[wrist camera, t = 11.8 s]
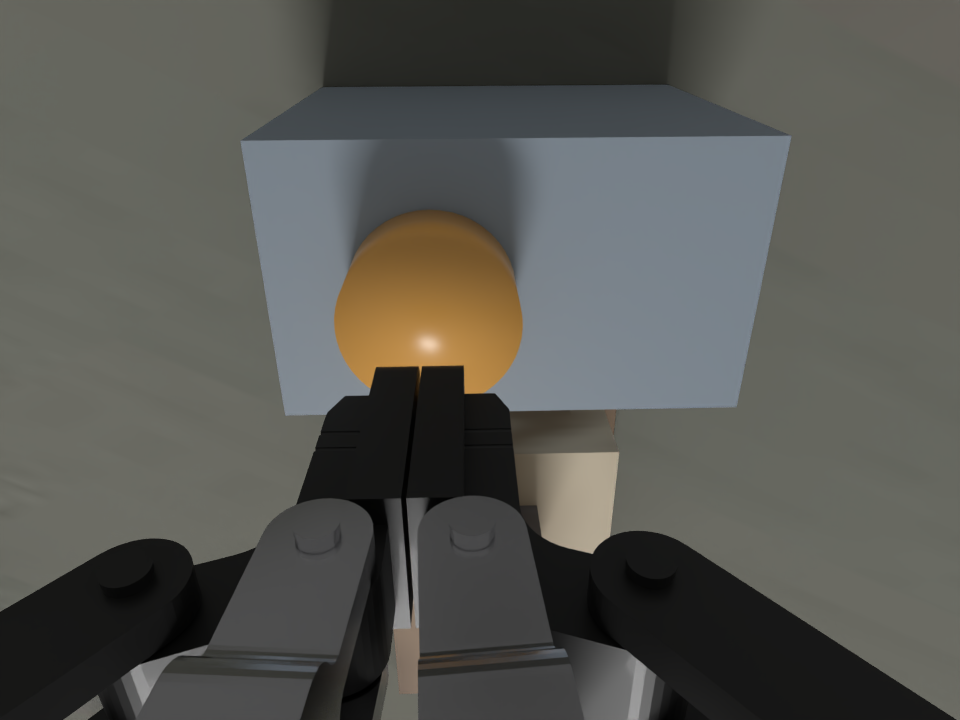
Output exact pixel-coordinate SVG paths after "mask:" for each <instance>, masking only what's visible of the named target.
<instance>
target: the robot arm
mask: <svg viewBox="0 0 960 720" xmlns="http://www.w3.org/2000/svg"><path fill="white" fill-rule="evenodd" d="M315 448H316V451H315V452H314V453H313V456H312V459H311V462H310V465H309V468H308V471H307V474H306V477H305V480H304V483H303V486H302V489H301V492H300V495H299V498H298V501H297V504H296V505H295V506H292V507H290V508H288V509H286V510H285V511H283V512H282V513H280V514H279V515H278V516H276V517H275V518H274V519H273V520H272V521H271V522H270V523H269V525H268V526H267V527H266V529H265V531H264V532H263V534H262V536H261V538H260V540H259V542H258V545H257V547H256V548H253V549H251V550H249V551H246V552H243V553H240V554H237V555H233V556H229V557H225V558H221V559H217V560H213V561H210V562H206V563H202V564H198V565H193V561H192V557H191V555H190V553H189V551H188V550H187V549H186V548H185V547H184V546H182V545H180V544H179V543H177V542H174V541H171V540H166V539H142V540H136V541H132V542H128V543H125V544H121V545H119V546H116V547H114V548H111V549H109V550H107V551H105V552H103V553H101V554H99V555H98V556H96V557H94V558H92V559H91V560H89V561H87V562H85V563H84V564H82V565H80V566H79V567H77V568H75V569H73V570H72V571H70V572H68V573H66V574H65V575H63V576H61V577H60V578H58V579H56V580H54V581H53V582H51V583H49V584H47V585H46V586H44V587H42V588H41V589H39V590H37V591H35V592H34V593H32V594H30V595H29V596H27V597H25V598H23V599H22V600H20V601H18V602H16V603H15V604H13V605H11V606H10V607H8V608H6V609H4V610H3V611H1V612H0V720H63V719H65V718H66V717H67V716H69V715H70V714H72V713H73V712H74V711H76V710H77V709H79V708H80V707H81V706H83V705H84V704H85V703H87V702H88V701H90V700H91V699H92V698H94V697H95V696H96V695H98V696H99V698H100V701H101V703H102V705H103V709H101V710H100V711H99V712H97V713H96V714H95V715H93V716H92V717H91V718H89V719H88V720H381V715H382V710H383V705H384V700H385V695H386V690H387V685H388V676H389V675H388V665H387V663H388V660H389V656H390V651H391V642H392V634H393V629H411V622H412V610H413V599H414V612H415V625H416V628H419V651H420V659H418V720H956V719H954V718H953V717H951V716H950V715H948V714H947V713H945V712H944V711H942V710H941V709H939V708H937V707H936V706H934V705H933V704H931V703H930V702H928V701H927V700H925V699H924V698H922V697H920V696H919V695H917V694H916V693H914V692H913V691H911V690H910V689H908V688H906V687H905V686H903V685H902V684H900V683H899V682H897V681H896V680H894V679H893V678H891V677H889V676H888V675H886V674H885V673H883V672H882V671H880V670H879V669H877V668H876V667H874V666H872V665H871V664H869V663H868V662H866V661H865V660H863V659H862V658H860V657H859V656H857V655H855V654H854V653H852V652H851V651H849V650H848V649H846V648H845V647H843V646H842V645H840V644H838V643H837V642H835V641H834V640H832V639H831V638H829V637H828V636H826V635H825V634H823V633H821V632H820V631H818V630H817V629H815V628H814V627H812V626H811V625H809V624H807V623H806V622H804V621H803V620H801V619H800V618H798V617H797V616H795V615H794V614H792V613H790V612H789V611H787V610H786V609H784V608H783V607H781V606H780V605H778V604H777V603H775V602H773V601H772V600H770V599H769V598H767V597H766V596H764V595H763V594H761V593H760V592H758V591H756V590H755V589H753V588H752V587H750V586H749V585H747V584H746V583H744V582H743V581H741V580H739V579H738V578H736V577H735V576H733V575H732V574H730V573H729V572H727V571H726V570H724V569H722V568H721V567H719V566H718V565H716V564H715V563H713V562H712V561H710V560H708V559H707V558H705V557H704V556H702V555H701V554H699V553H698V552H696V551H695V550H693V549H691V548H690V547H688V546H687V545H685V544H683V543H682V542H680V541H678V540H676V539H674V538H671V537H669V536H666V535H662V534H659V533H654V532H648V531H629V532H623V533H619V534H616V535H613V536H611V537H609V538H607V539H605V540H604V541H603V542H602V543H600V544H599V545H598V546H597V548H596V549H595V550H594V552H593V554H591V553H587V552H583V551H578V550H574V549H570V548H566V547H563V546H559V545H557V544H554V543H552V542H550V541H548V540H546V539H544V538H543V537H541V536H540V535H538V534H537V533H536V532H534V531H533V530H532V529H531V528H530V527H529V526H528V524H527V523H526V521H525V520H524V518H523V516H522V514H521V510H520V503H519V494H518V485H517V476H516V467H515V457H514V448H513V439H512V432H511V421H510V412H509V408H508V407H507V406H506V405H505V404H504V403H503V402H502V400H501V399H500V398H499V397H498V396H497V395H496V394H495V393H476V394H465V385H464V365H455V366H422V369H421V378H420V369H419V366H400V367H376V369H375V373H374V377H373V381H372V385H371V389H370V393H369V395H362V396H344V397H343V398H342V399H341V400H340V401H339V402H338V403H337V404H336V405H335V406H334V407H333V408H331V409H330V410H329V411H328V412H327V415H326V418H325V421H324V424H323V427H322V430H321V435H319V438H318V441H317V444H316V447H315Z"/></svg>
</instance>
